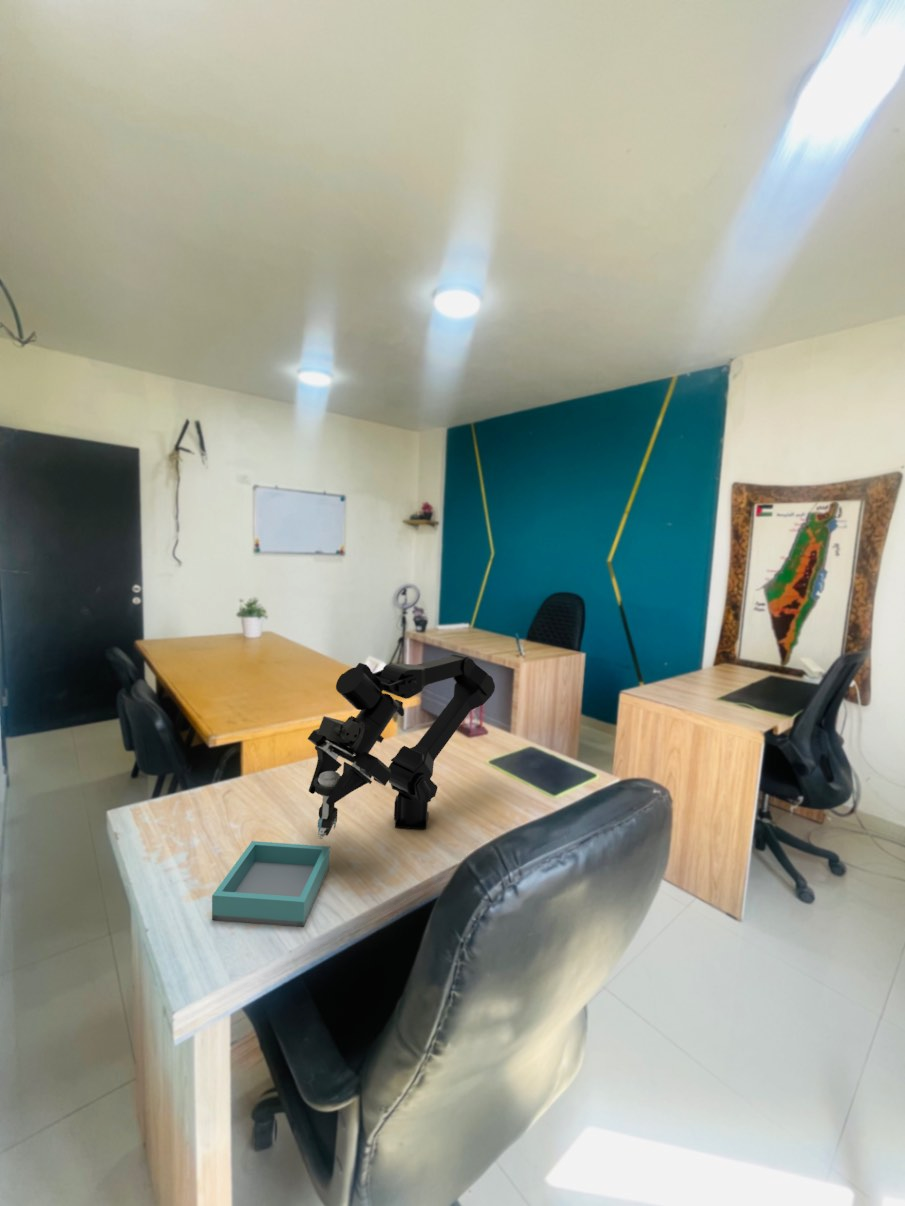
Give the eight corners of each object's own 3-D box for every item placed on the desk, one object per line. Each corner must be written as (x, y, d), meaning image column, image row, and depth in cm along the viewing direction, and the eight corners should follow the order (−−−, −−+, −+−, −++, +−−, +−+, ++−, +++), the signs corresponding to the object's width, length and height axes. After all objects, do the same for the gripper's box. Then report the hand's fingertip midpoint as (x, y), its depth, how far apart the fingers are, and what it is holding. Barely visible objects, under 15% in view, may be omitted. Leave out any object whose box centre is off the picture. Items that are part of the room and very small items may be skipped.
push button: (335, 843, 85) (338, 788, 84) (304, 840, 86) (307, 785, 84) (345, 821, 92) (348, 770, 91) (316, 818, 92) (319, 767, 91)
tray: (329, 867, 89) (329, 846, 89) (303, 926, 75) (304, 902, 75) (251, 862, 89) (252, 841, 89) (212, 919, 76) (212, 895, 75)
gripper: (317, 687, 95) (262, 759, 88) (379, 713, 83) (321, 799, 76) (350, 717, 102) (301, 786, 95) (412, 745, 89) (361, 827, 83)
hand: (319, 798), depth 87 cm, fingers closed on push button, 5 cm apart
